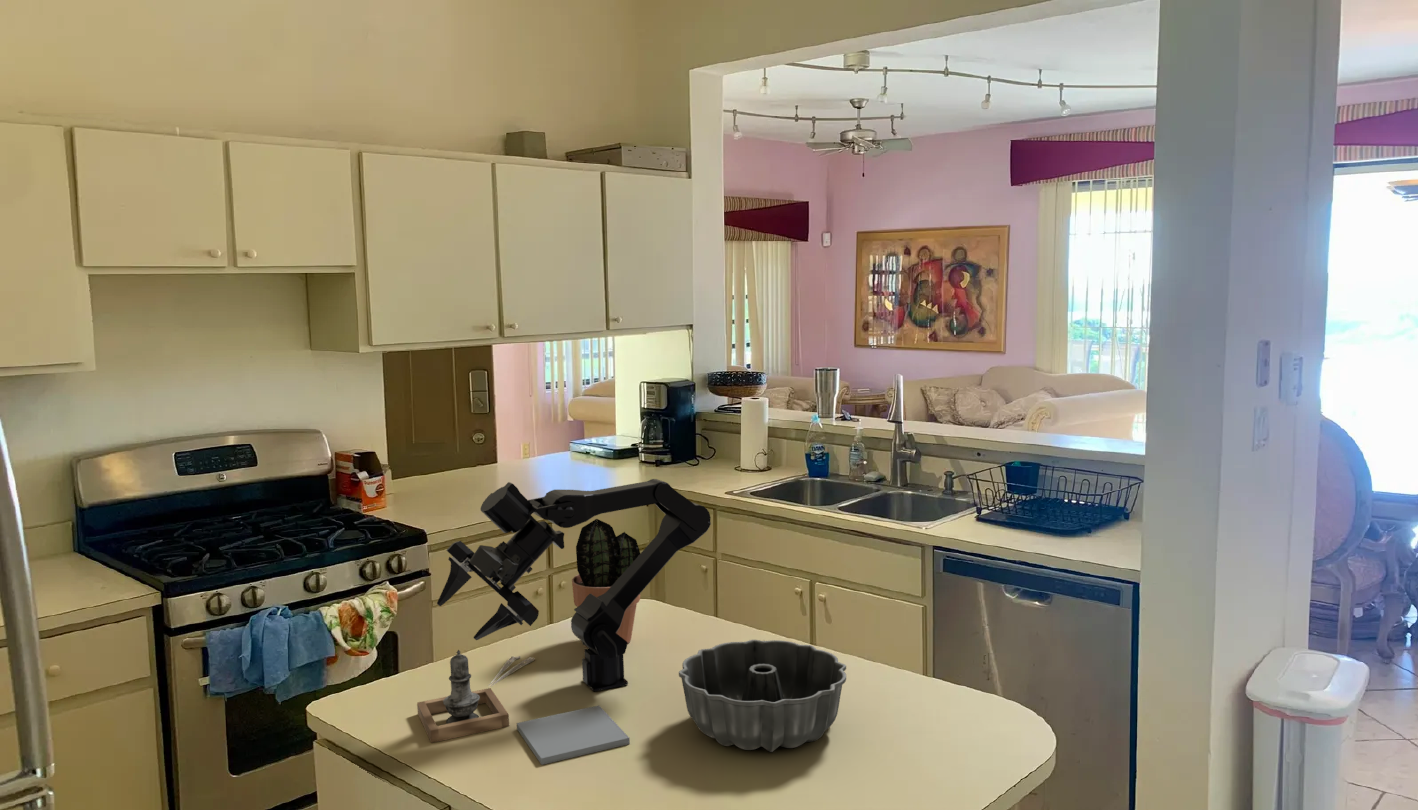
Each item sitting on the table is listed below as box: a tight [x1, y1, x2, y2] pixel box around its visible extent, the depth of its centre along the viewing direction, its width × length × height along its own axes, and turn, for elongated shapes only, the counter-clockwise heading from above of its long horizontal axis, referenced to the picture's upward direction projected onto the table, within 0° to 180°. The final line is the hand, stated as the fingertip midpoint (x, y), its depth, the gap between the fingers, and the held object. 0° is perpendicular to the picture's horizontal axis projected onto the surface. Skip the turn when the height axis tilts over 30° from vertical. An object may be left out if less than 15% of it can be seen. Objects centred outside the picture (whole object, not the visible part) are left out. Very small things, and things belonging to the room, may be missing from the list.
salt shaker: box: [443, 649, 480, 724], centre depth 164 cm, size 6×6×12 cm
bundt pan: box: [678, 639, 847, 753], centre depth 158 cm, size 26×26×10 cm
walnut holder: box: [416, 687, 510, 744], centre depth 165 cm, size 12×12×2 cm
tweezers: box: [487, 655, 535, 687], centre depth 184 cm, size 17×5×2 cm, turn 163°
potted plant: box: [571, 518, 641, 644], centre depth 198 cm, size 14×14×25 cm
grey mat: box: [516, 704, 631, 766], centre depth 157 cm, size 14×14×1 cm
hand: (456, 621), depth 164 cm, fingers open, 9 cm apart
